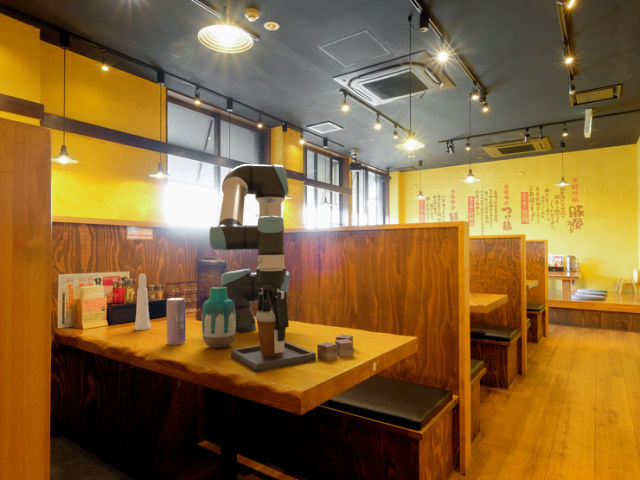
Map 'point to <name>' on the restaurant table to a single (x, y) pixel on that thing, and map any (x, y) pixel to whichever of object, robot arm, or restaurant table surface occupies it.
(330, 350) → the cube
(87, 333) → the restaurant table surface
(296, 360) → the tray
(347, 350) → the cube
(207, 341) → the vase
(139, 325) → the cosmetic bottle
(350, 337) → the cube
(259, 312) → the disposable coffee cup
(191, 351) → the restaurant table surface
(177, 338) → the beverage can
